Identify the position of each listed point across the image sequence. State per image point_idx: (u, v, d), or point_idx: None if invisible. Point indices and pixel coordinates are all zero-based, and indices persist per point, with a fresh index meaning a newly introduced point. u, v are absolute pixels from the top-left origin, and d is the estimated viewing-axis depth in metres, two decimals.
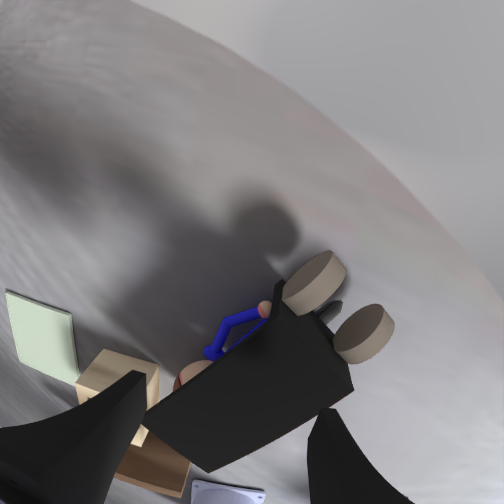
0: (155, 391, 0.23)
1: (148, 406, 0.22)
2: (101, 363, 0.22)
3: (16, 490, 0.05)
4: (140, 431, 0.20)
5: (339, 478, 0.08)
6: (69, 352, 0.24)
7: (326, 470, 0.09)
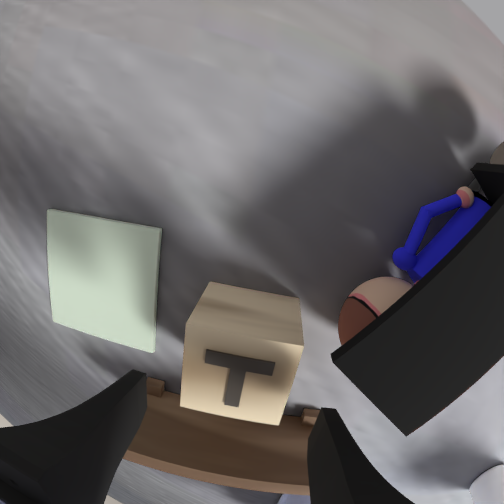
0: None
1: None
2: (216, 298, 0.16)
3: (16, 490, 0.05)
4: None
5: (339, 478, 0.08)
6: (147, 293, 0.18)
7: (326, 470, 0.09)
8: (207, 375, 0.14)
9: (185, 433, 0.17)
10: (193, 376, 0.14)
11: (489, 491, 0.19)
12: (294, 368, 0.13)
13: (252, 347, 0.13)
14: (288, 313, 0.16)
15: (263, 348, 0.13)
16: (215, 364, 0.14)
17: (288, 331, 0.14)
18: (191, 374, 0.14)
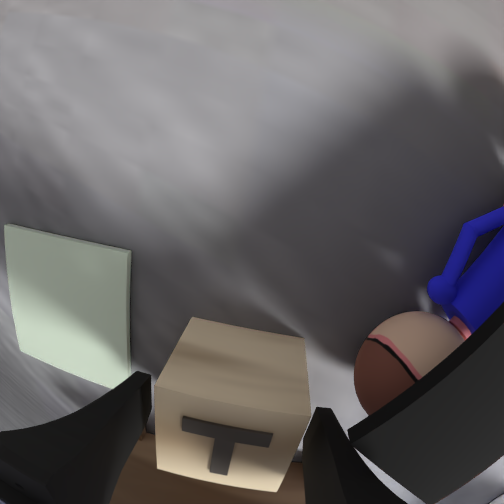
0: None
1: None
2: (198, 342, 0.12)
3: (21, 493, 0.05)
4: None
5: (333, 478, 0.08)
6: (117, 329, 0.14)
7: (321, 470, 0.09)
8: (186, 442, 0.10)
9: (168, 485, 0.13)
10: (170, 442, 0.10)
11: None
12: (297, 439, 0.09)
13: (242, 417, 0.09)
14: (291, 364, 0.12)
15: (257, 418, 0.09)
16: (196, 432, 0.10)
17: (290, 393, 0.10)
18: (167, 439, 0.10)
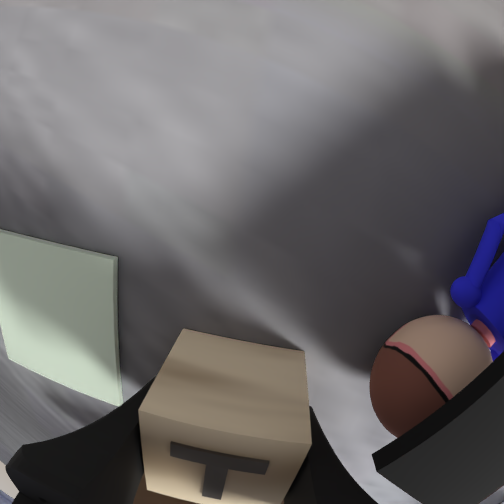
0: None
1: None
2: (189, 359, 0.11)
3: None
4: None
5: (307, 477, 0.08)
6: (105, 340, 0.13)
7: None
8: (176, 467, 0.09)
9: (162, 500, 0.12)
10: (158, 466, 0.09)
11: None
12: (296, 467, 0.08)
13: (236, 444, 0.08)
14: (290, 382, 0.11)
15: (252, 446, 0.08)
16: (186, 458, 0.09)
17: (289, 417, 0.09)
18: (155, 463, 0.09)
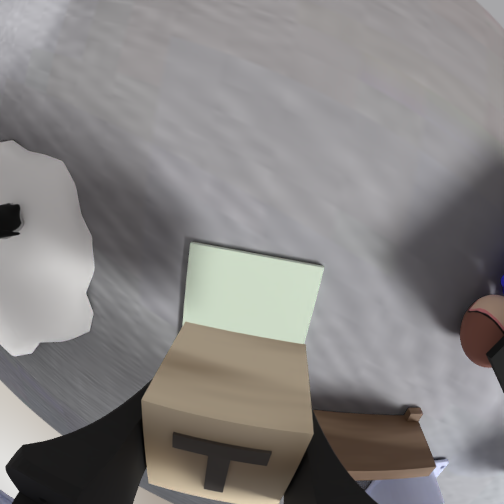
0: None
1: None
2: (191, 351, 0.11)
3: None
4: None
5: (307, 477, 0.08)
6: (301, 324, 0.20)
7: (297, 468, 0.09)
8: (179, 459, 0.09)
9: None
10: (160, 458, 0.09)
11: None
12: (298, 457, 0.08)
13: (238, 434, 0.08)
14: (291, 374, 0.11)
15: (254, 436, 0.08)
16: (188, 449, 0.09)
17: (291, 408, 0.09)
18: (157, 455, 0.09)
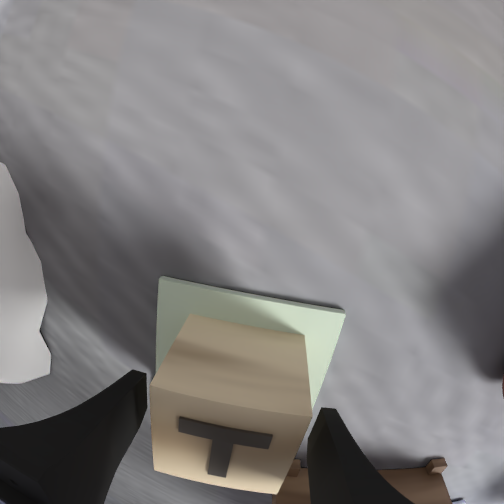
0: None
1: None
2: (196, 340, 0.12)
3: (16, 490, 0.05)
4: None
5: (339, 478, 0.08)
6: (312, 383, 0.14)
7: (326, 470, 0.09)
8: (183, 444, 0.10)
9: None
10: (166, 443, 0.10)
11: None
12: (297, 441, 0.09)
13: (241, 417, 0.09)
14: (291, 362, 0.11)
15: (256, 419, 0.09)
16: (193, 434, 0.09)
17: (291, 392, 0.10)
18: (163, 441, 0.10)
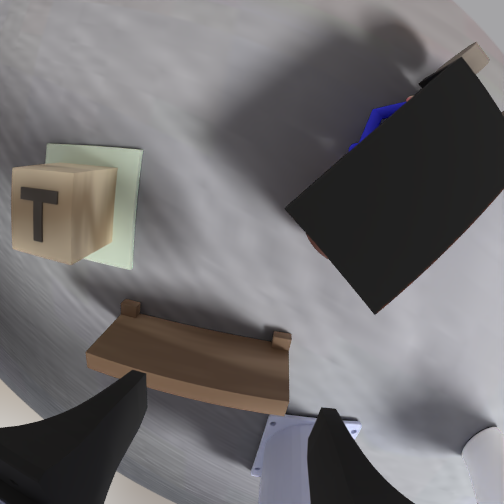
0: (107, 202, 0.19)
1: (92, 209, 0.17)
2: (50, 164, 0.17)
3: (16, 490, 0.05)
4: (73, 233, 0.15)
5: (339, 478, 0.08)
6: (127, 209, 0.20)
7: (327, 470, 0.09)
8: (23, 212, 0.15)
9: (154, 346, 0.19)
10: (17, 215, 0.15)
11: (482, 453, 0.21)
12: (70, 196, 0.15)
13: (44, 179, 0.15)
14: (92, 168, 0.17)
15: (50, 179, 0.15)
16: (27, 200, 0.15)
17: (75, 170, 0.15)
18: (16, 213, 0.15)
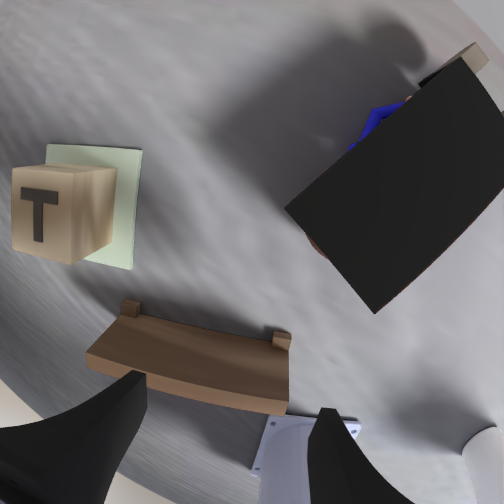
0: (106, 203, 0.19)
1: (92, 209, 0.17)
2: (50, 165, 0.17)
3: (16, 490, 0.05)
4: (73, 233, 0.15)
5: (339, 478, 0.08)
6: (127, 209, 0.20)
7: (326, 470, 0.09)
8: (23, 212, 0.15)
9: (154, 346, 0.19)
10: (17, 215, 0.15)
11: (482, 453, 0.21)
12: (70, 197, 0.15)
13: (44, 179, 0.15)
14: (92, 169, 0.17)
15: (50, 179, 0.15)
16: (27, 200, 0.15)
17: (75, 171, 0.15)
18: (16, 213, 0.15)
